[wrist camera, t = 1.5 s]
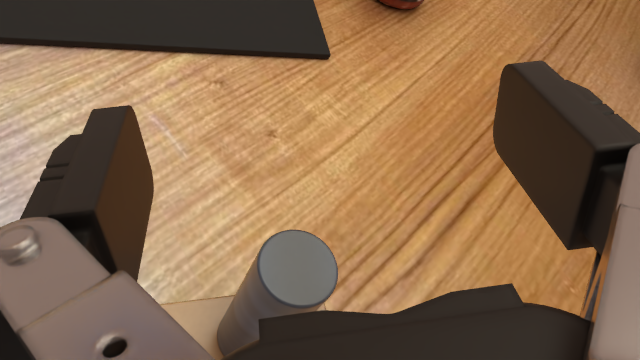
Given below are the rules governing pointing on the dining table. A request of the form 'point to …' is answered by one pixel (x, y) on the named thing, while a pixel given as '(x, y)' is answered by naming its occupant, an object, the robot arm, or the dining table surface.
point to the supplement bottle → (402, 3)
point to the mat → (169, 25)
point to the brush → (262, 293)
